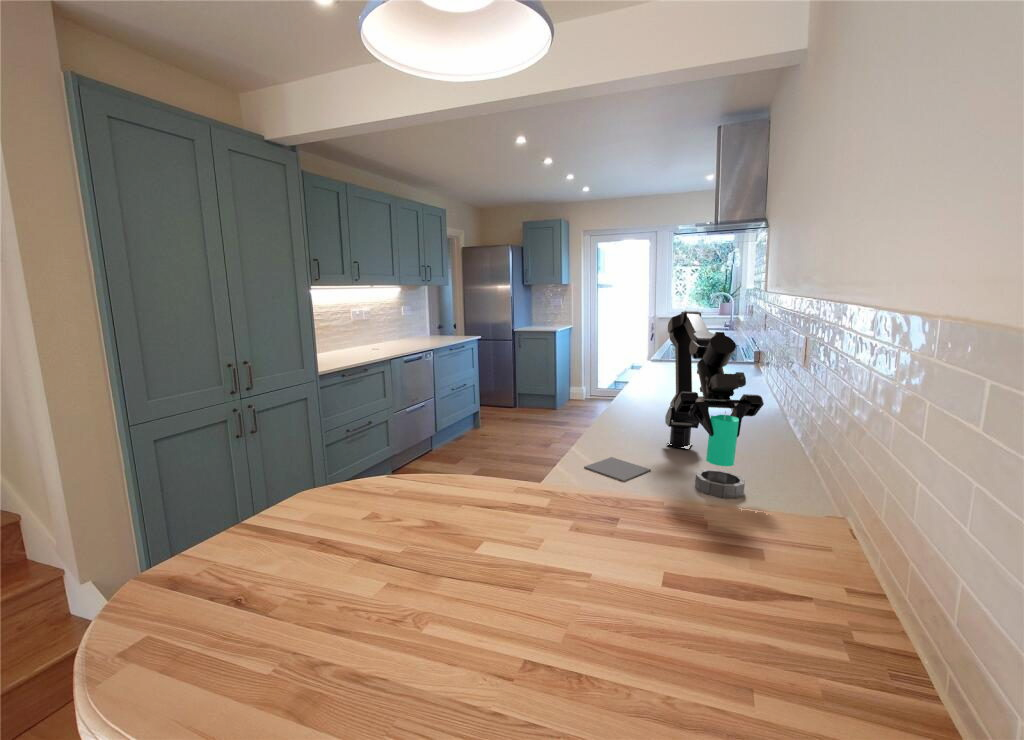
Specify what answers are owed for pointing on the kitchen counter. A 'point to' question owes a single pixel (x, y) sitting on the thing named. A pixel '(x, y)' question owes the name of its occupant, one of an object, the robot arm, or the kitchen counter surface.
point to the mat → (617, 469)
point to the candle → (722, 440)
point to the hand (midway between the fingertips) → (724, 435)
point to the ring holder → (720, 484)
